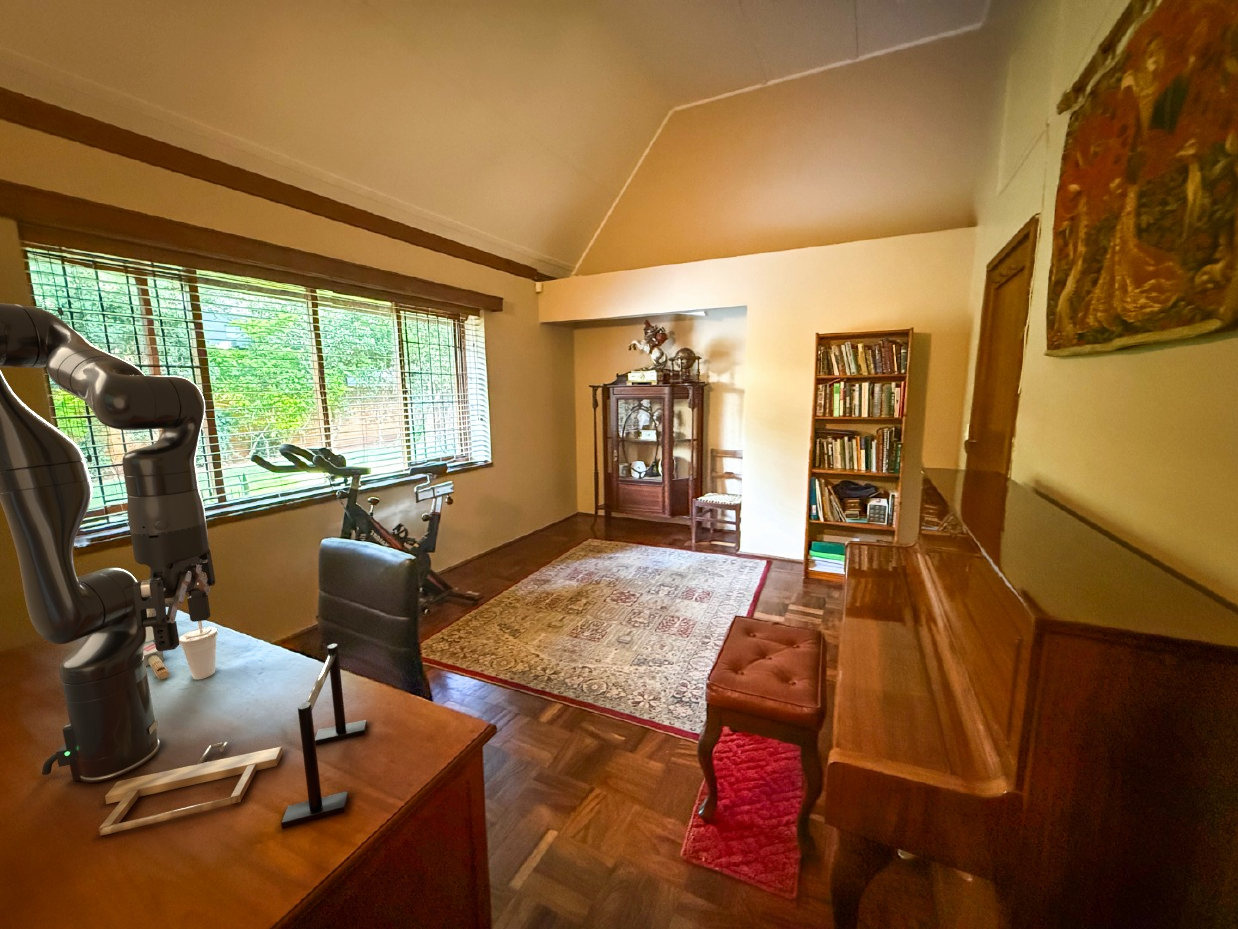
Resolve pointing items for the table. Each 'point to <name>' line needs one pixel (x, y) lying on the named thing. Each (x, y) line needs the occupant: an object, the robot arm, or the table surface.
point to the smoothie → (200, 650)
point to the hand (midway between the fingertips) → (185, 633)
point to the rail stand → (341, 730)
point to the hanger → (183, 777)
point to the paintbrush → (155, 660)
